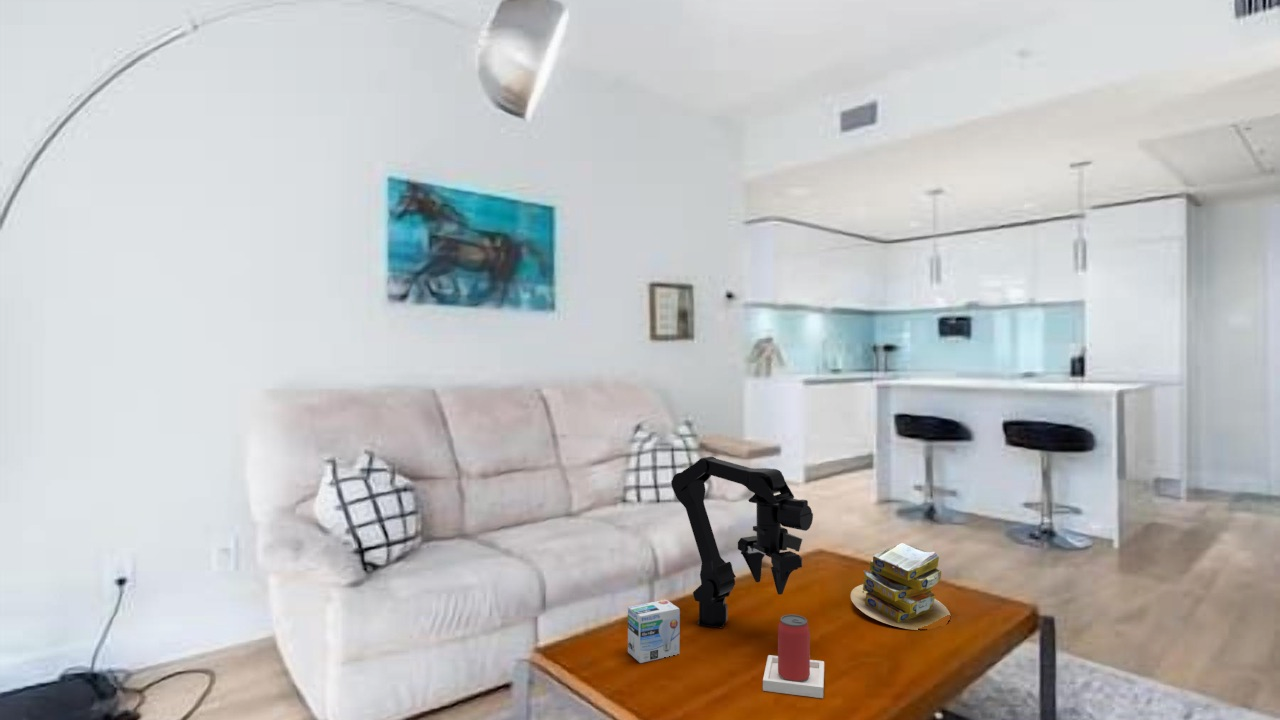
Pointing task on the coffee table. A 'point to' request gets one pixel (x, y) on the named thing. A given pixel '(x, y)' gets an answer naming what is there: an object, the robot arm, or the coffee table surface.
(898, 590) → the stacked boxes on plate
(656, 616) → the light bulb box
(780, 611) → the coffee table surface
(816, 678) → the dock tray
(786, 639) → the beer can
